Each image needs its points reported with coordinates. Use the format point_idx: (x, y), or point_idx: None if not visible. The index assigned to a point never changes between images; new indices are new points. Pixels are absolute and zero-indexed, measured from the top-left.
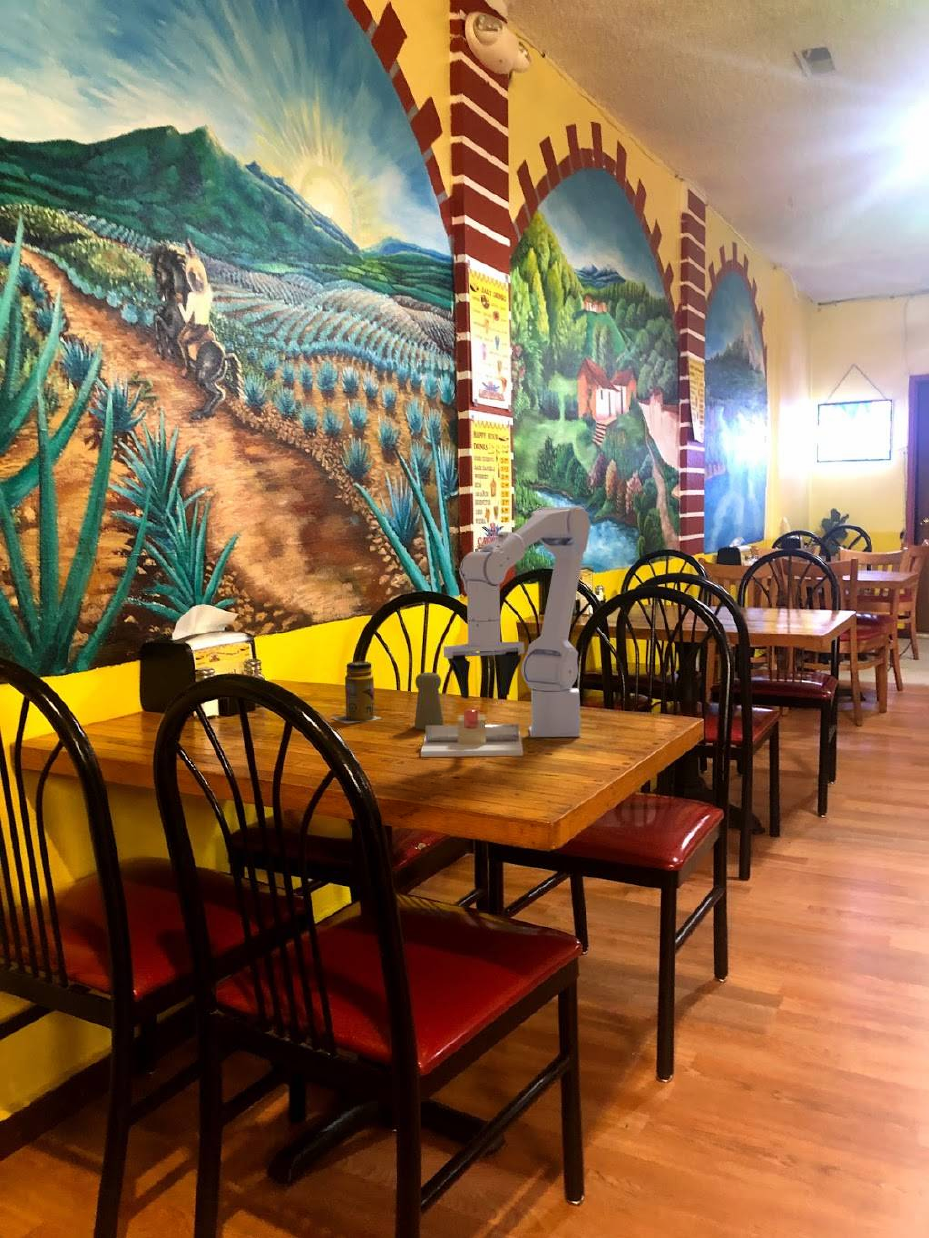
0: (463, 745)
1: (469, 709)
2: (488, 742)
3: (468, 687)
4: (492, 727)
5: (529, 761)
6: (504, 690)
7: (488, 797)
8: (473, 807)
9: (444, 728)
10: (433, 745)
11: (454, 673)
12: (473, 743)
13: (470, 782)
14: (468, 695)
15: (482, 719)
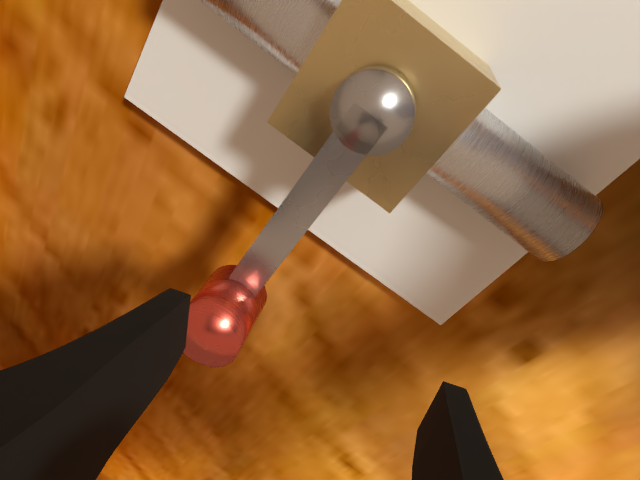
0: None
1: (209, 321)
2: None
3: (143, 409)
4: (450, 183)
5: (403, 366)
6: (421, 444)
7: (152, 460)
8: (108, 472)
9: (243, 25)
10: (203, 36)
11: (13, 367)
12: None
13: (163, 385)
14: (173, 364)
15: (387, 191)
